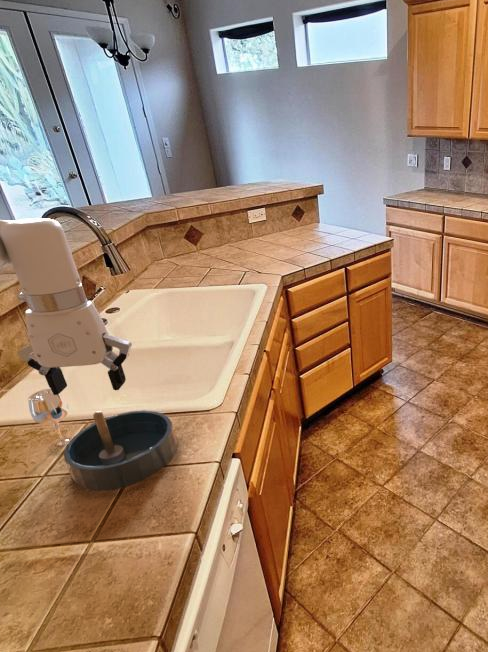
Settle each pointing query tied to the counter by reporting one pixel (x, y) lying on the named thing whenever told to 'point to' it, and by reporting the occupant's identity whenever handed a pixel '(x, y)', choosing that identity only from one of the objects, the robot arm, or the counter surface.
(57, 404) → the wineglass
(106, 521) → the counter surface
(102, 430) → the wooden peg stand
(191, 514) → the counter surface
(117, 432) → the bowl
